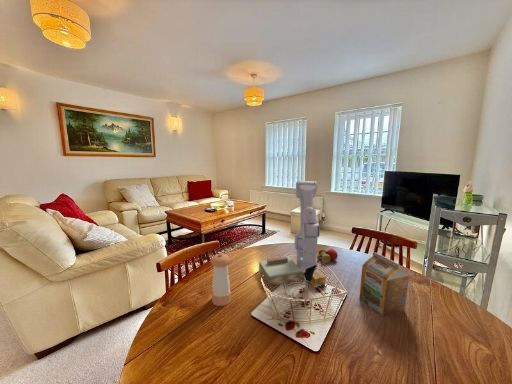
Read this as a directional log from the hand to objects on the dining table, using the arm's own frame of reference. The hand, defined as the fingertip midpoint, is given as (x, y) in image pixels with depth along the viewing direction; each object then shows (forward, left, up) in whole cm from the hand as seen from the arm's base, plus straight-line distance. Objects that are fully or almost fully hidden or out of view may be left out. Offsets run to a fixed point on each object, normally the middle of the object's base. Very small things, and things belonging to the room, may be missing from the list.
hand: (308, 280), depth 92 cm
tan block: (-4, -1, -3) cm, 5 cm away
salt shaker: (+38, -1, -3) cm, 38 cm away
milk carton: (-20, +19, -3) cm, 28 cm away
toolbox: (+9, -11, -3) cm, 14 cm away
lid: (+9, -11, +1) cm, 14 cm away
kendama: (-19, -19, -3) cm, 27 cm away
